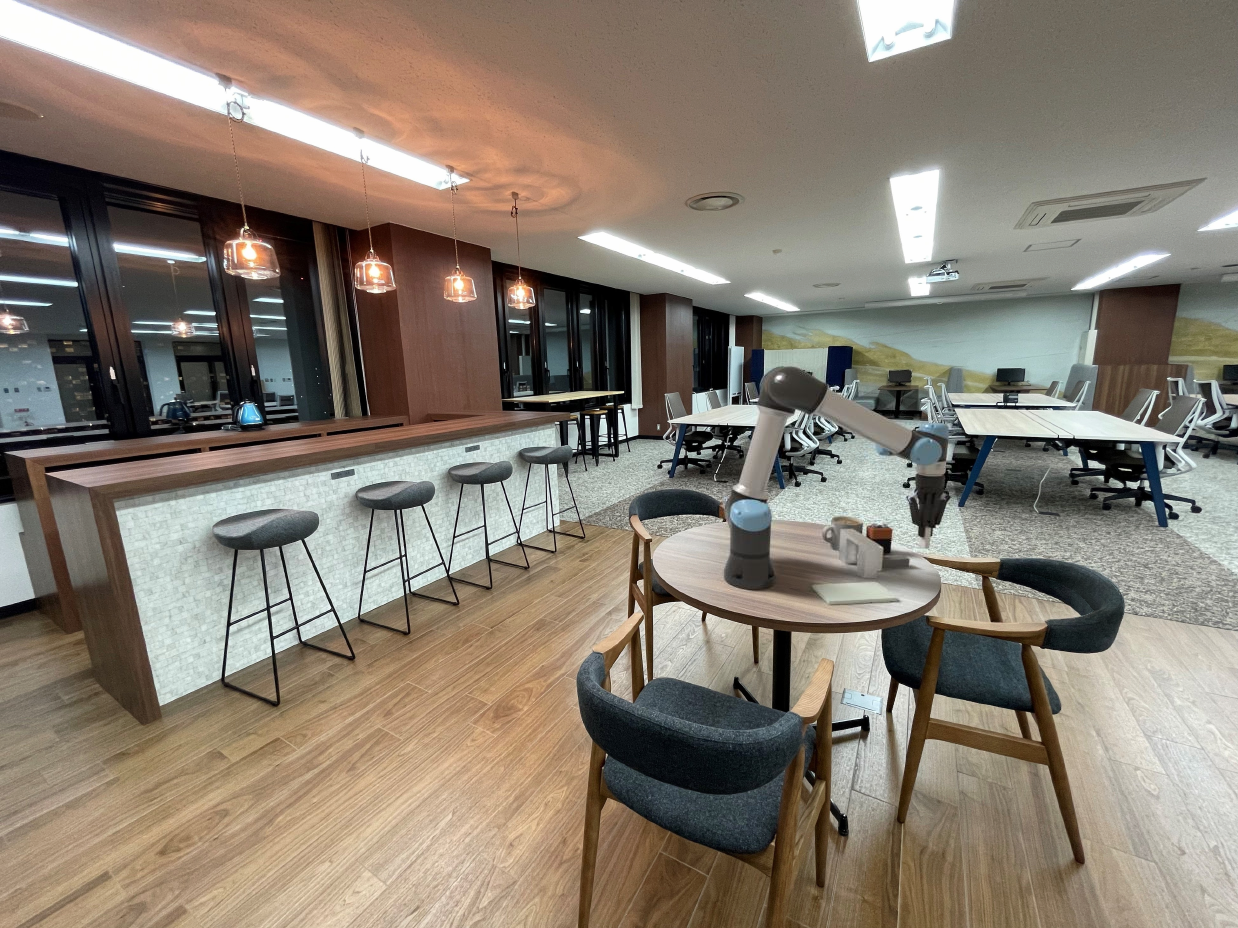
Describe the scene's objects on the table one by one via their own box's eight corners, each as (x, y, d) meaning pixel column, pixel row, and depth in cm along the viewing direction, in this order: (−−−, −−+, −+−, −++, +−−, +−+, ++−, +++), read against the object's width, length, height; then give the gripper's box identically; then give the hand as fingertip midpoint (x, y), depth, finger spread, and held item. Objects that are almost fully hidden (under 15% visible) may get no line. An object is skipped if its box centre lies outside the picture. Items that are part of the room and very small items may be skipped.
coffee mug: (855, 542, 171) (857, 516, 169) (865, 552, 161) (867, 525, 159) (816, 541, 173) (818, 515, 171) (824, 551, 163) (826, 524, 161)
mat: (828, 604, 127) (829, 601, 127) (812, 587, 137) (812, 584, 136) (897, 601, 128) (897, 597, 127) (875, 584, 137) (876, 581, 137)
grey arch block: (863, 578, 142) (866, 545, 140) (838, 559, 156) (840, 529, 154) (876, 577, 142) (879, 544, 140) (850, 558, 157) (852, 528, 155)
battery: (864, 550, 164) (866, 522, 162) (884, 549, 164) (886, 522, 162) (870, 554, 159) (873, 526, 158) (891, 554, 159) (893, 526, 157)
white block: (868, 571, 147) (870, 548, 145) (860, 564, 152) (861, 542, 150) (910, 569, 147) (913, 546, 146) (900, 562, 152) (902, 540, 151)
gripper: (917, 477, 140) (911, 551, 145) (960, 475, 141) (952, 549, 145) (901, 472, 148) (896, 543, 152) (942, 470, 148) (935, 541, 153)
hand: (924, 546), depth 149 cm, fingers closed
